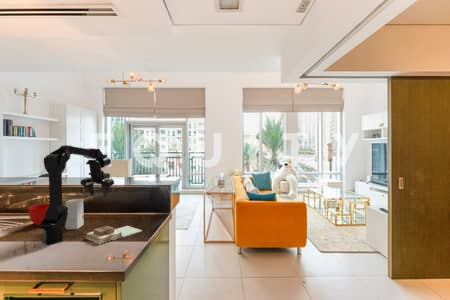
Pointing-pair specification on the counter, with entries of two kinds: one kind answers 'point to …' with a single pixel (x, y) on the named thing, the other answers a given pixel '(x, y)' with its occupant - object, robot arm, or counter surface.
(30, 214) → the ceramic cup
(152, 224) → the counter surface
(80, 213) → the skincare box
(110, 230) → the walnut tile
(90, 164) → the robot arm
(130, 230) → the sage mat
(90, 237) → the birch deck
